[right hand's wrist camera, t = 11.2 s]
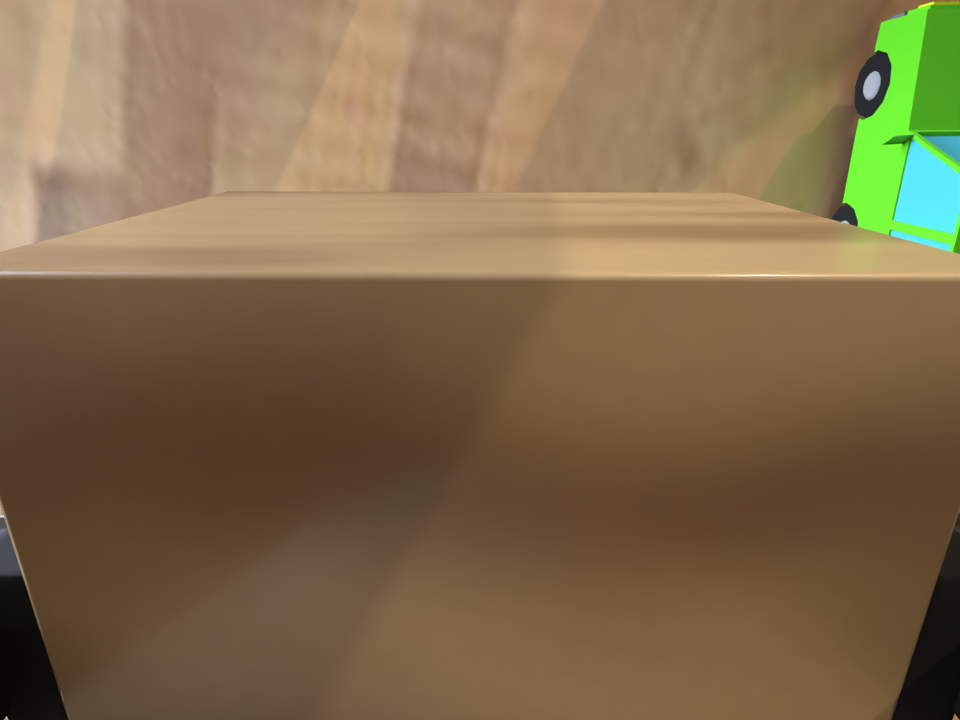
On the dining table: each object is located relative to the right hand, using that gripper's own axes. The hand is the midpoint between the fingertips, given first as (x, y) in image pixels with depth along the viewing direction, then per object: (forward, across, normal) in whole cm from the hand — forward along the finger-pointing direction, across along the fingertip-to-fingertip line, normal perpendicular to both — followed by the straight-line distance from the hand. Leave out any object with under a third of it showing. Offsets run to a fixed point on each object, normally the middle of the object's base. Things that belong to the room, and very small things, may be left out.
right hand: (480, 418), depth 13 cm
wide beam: (0, 0, -31) cm, 31 cm away
